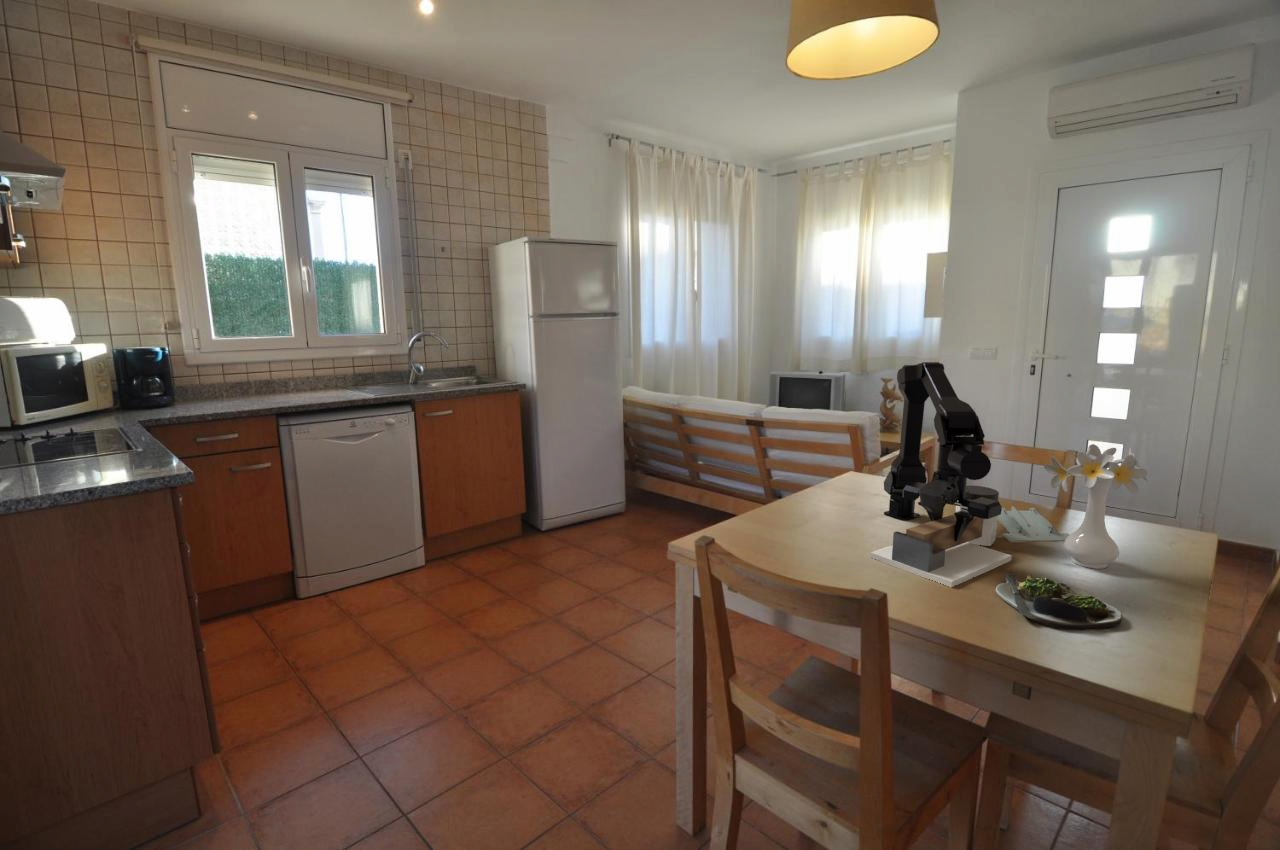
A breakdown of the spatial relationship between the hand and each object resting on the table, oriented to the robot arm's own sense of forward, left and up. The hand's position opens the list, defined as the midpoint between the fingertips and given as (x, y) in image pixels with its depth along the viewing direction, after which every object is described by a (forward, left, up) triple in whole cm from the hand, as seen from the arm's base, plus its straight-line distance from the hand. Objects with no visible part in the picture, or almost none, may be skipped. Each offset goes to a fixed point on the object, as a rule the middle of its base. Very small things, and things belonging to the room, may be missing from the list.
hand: (946, 537), depth 130 cm
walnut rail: (+1, 0, -1) cm, 1 cm away
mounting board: (+2, 0, -4) cm, 5 cm away
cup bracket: (+10, 0, -3) cm, 11 cm away
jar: (-15, -2, -5) cm, 16 cm away
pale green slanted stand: (-30, +2, -5) cm, 31 cm away
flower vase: (-20, +19, -5) cm, 28 cm away
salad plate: (+7, +24, -5) cm, 25 cm away
